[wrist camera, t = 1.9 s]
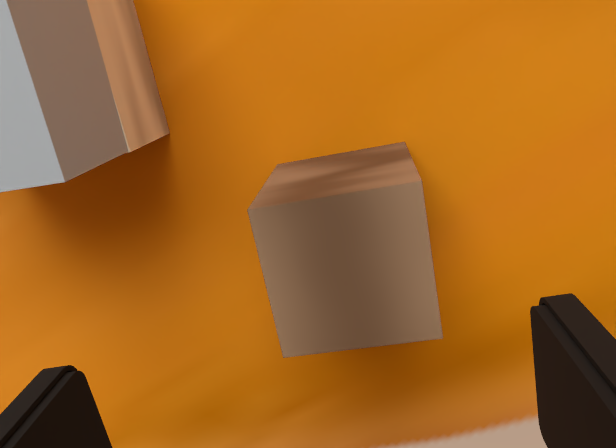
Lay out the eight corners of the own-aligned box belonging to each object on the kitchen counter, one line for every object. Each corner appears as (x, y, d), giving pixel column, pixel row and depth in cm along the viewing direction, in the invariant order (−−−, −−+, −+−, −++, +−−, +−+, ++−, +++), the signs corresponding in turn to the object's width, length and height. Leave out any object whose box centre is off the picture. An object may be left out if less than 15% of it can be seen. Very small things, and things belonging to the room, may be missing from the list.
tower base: (118, -61, 19) (58, -86, 15) (171, 132, 21) (130, 152, 17) (-54, -18, 20) (-149, -31, 16) (14, 162, 22) (-57, 187, 18)
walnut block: (404, 141, 20) (421, 181, 15) (421, 261, 22) (443, 338, 16) (277, 164, 21) (247, 209, 15) (302, 277, 22) (283, 357, 17)
